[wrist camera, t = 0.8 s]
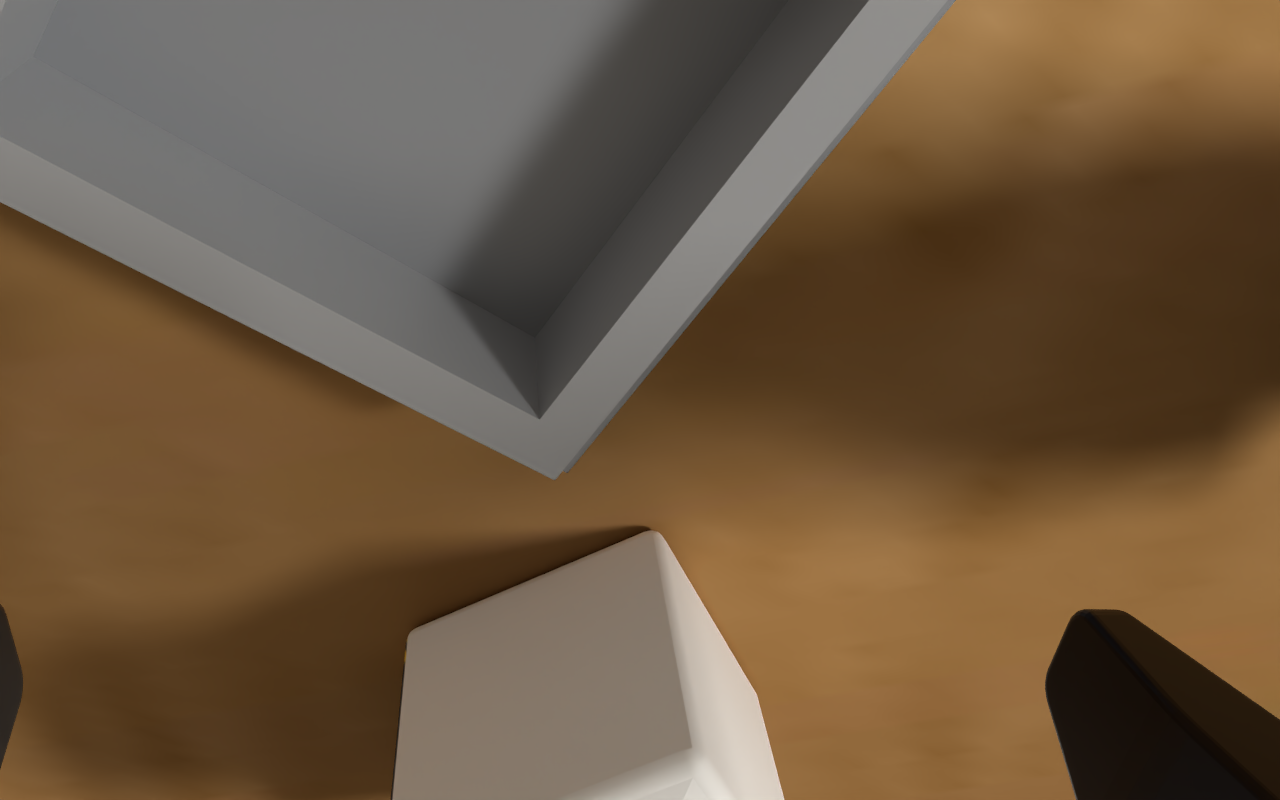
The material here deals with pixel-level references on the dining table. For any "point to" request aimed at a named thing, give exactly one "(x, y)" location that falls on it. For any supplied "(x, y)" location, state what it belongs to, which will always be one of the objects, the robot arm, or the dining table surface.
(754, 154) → the bottle caddy
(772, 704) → the dining table surface
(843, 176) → the dining table surface
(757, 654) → the dining table surface
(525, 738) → the medicine bottle
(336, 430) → the dining table surface
